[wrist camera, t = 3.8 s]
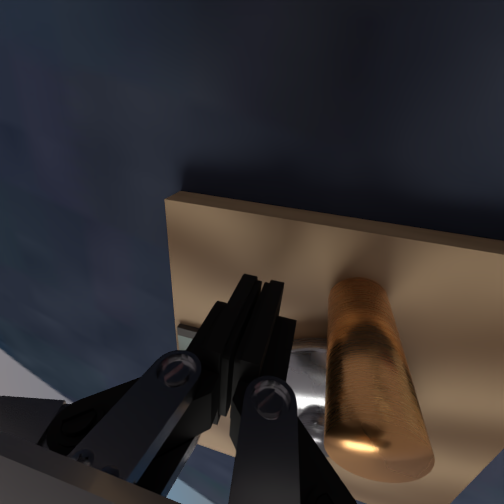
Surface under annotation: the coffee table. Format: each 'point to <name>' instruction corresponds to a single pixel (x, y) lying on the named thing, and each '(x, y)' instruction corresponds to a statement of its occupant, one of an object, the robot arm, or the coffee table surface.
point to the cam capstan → (361, 389)
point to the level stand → (402, 304)
